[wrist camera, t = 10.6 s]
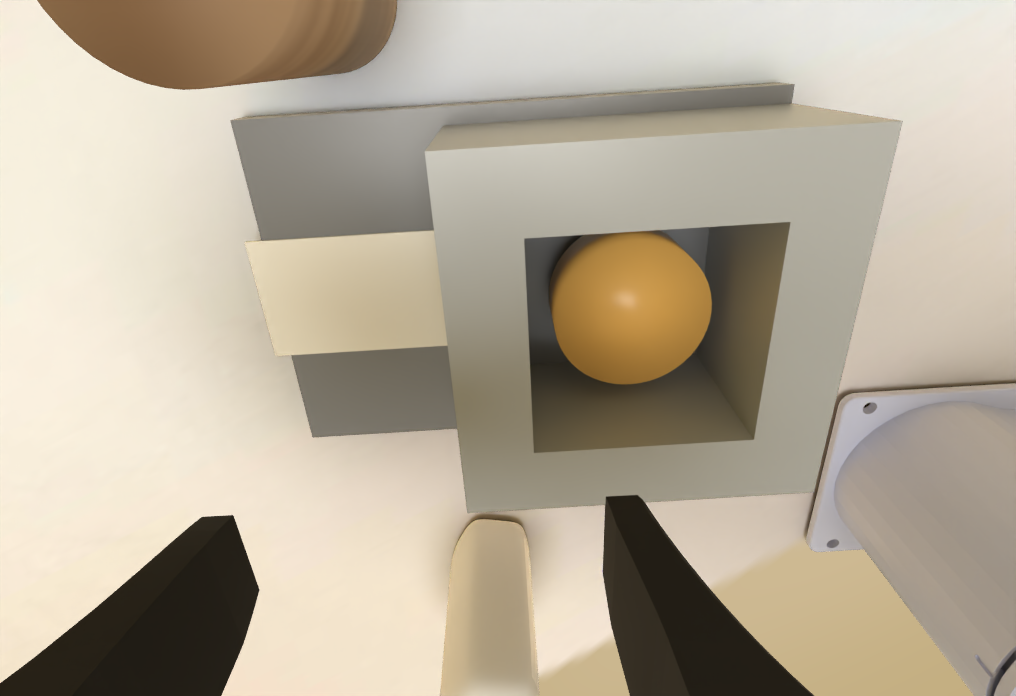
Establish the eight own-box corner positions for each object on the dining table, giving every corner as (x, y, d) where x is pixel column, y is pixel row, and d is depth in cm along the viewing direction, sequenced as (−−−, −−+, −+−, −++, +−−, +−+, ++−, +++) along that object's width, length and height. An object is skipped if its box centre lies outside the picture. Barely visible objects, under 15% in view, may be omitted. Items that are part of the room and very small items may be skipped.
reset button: (698, 217, 17) (719, 234, 15) (685, 352, 19) (703, 380, 17) (546, 227, 17) (552, 245, 15) (550, 360, 19) (555, 388, 17)
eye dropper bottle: (566, 545, 25) (620, 899, 15) (491, 614, 27) (490, 972, 17) (487, 500, 24) (483, 852, 13) (414, 576, 26) (360, 937, 15)
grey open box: (778, 82, 17) (908, 94, 12) (733, 396, 22) (810, 505, 17) (227, 118, 17) (107, 146, 12) (307, 422, 22) (247, 539, 17)
